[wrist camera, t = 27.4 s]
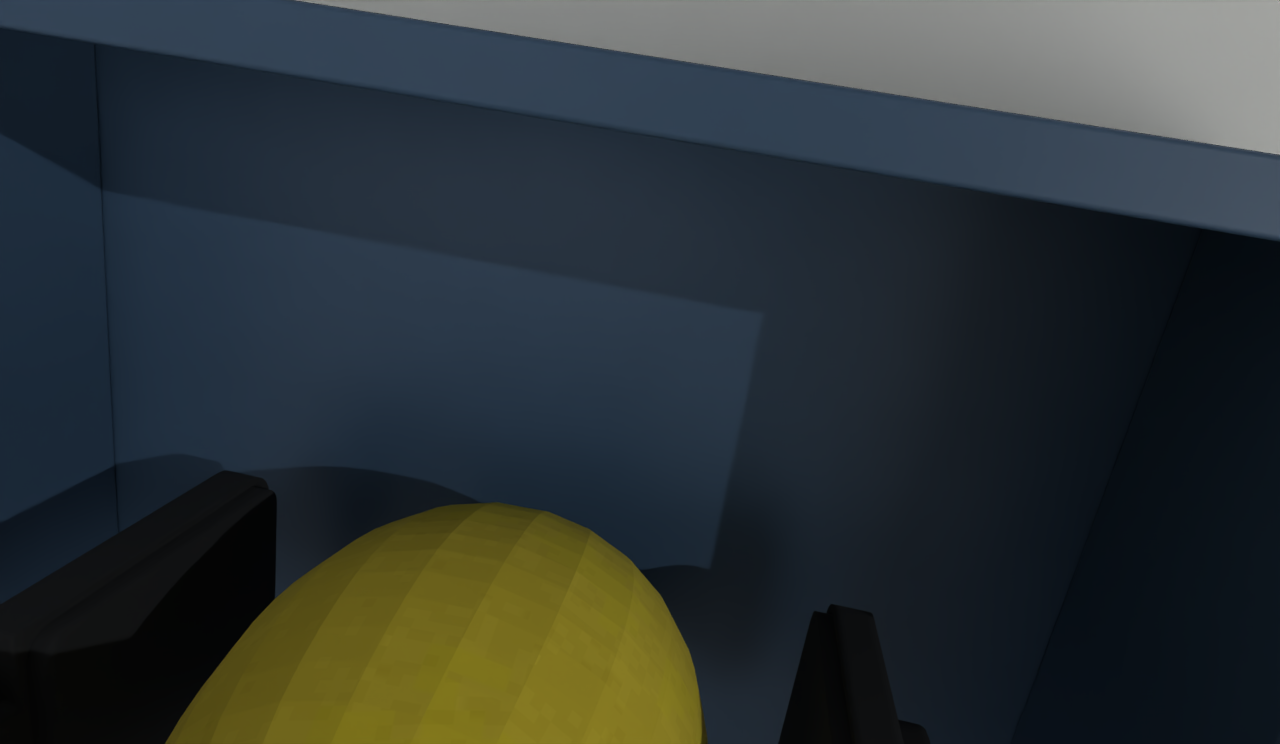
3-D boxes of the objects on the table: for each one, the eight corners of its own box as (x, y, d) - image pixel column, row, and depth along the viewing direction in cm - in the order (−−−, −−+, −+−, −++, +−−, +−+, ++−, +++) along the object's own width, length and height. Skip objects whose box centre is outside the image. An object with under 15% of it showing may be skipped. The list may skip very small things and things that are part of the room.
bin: (1257, 182, 10) (1647, 212, 5) (930, 1028, 14) (1003, 1409, 10) (73, -8, 11) (-348, -101, 7) (119, 810, 16) (-121, 1057, 11)
